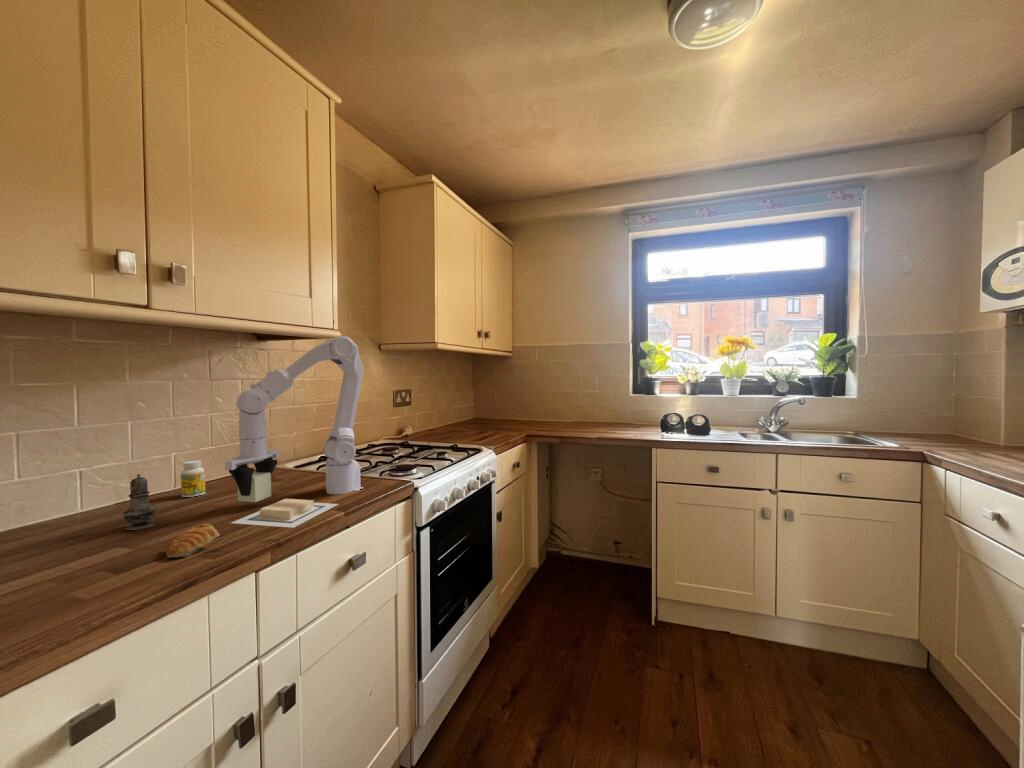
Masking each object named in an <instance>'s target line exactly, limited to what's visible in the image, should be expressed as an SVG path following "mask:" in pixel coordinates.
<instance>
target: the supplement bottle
mask: <svg viewBox="0 0 1024 768" xmlns="http://www.w3.org/2000/svg"><path fill="white" fill-rule="evenodd" d="M182 463H183V464H182V467H183V468H184V469H183V470H181V471H180V488H181V489H180V490H181V493H180V494H181V497H182V498H183V497H193V498H195V497H194V496H198V497H200V496H199V495H202V496H204V495H205V494H206V478H205V476H206V474H205V469H204V468H203V467H202V460H189V461H185V462H182ZM203 494H204V495H203Z"/></svg>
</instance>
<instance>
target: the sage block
mask: <svg viewBox="0 0 1024 768" xmlns="http://www.w3.org/2000/svg"><path fill="white" fill-rule="evenodd" d="M271 497H272V475H271V473H267V472H256V471H253V475H252V479H251V493H250V495H249V496H241V494H240V491H239V488H238V487H237V502H246V503H248V502H249V503H257V502H259V501H262V500H265V499H267V498H271Z"/></svg>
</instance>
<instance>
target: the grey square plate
mask: <svg viewBox="0 0 1024 768" xmlns="http://www.w3.org/2000/svg"><path fill="white" fill-rule="evenodd" d="M338 505H339V503H329V502H328V503H325V502H314V509H312V510H310V511H308V512H306V513H304V514H301V515H299V516H297V517H295V518H293V519H291V520H285V519H271V518H260V510H258V511H256V512H254V513H251V514H249V515H246V516H244V517H241V518H239V519H237V520H234V521H231V522H230V524H237V525H239V524H240V525H250V526H265V527H275V528H276V527H277V528H278V527H279V528H290V529H291V528H293V529H294V528H295V527H298V526H299V525H301V524H303V523H305V522H307V521H309V520H312V519H313V518H316V517H317V516H319V515H321V514H322V513H324V512H326V511H328V510H330V509H332V508H334V507H336V506H338Z"/></svg>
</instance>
